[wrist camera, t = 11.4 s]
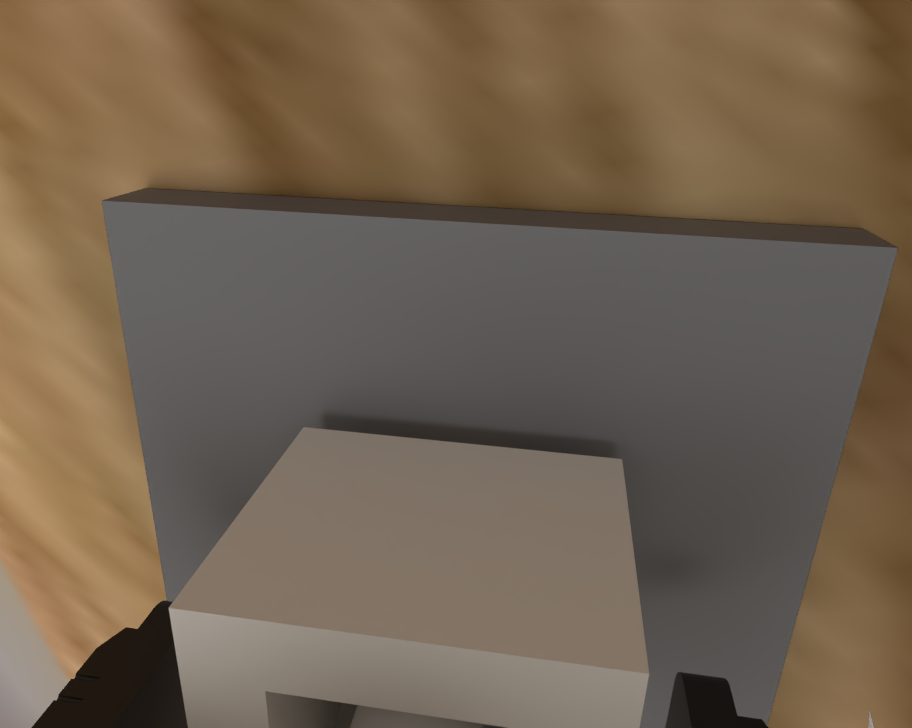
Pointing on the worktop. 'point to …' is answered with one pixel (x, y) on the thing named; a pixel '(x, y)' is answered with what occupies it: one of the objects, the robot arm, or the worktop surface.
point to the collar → (418, 591)
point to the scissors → (870, 721)
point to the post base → (516, 380)
